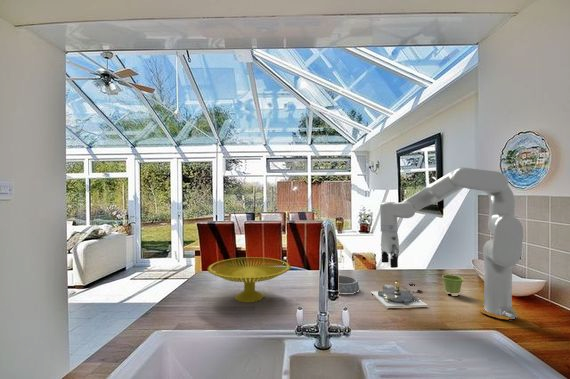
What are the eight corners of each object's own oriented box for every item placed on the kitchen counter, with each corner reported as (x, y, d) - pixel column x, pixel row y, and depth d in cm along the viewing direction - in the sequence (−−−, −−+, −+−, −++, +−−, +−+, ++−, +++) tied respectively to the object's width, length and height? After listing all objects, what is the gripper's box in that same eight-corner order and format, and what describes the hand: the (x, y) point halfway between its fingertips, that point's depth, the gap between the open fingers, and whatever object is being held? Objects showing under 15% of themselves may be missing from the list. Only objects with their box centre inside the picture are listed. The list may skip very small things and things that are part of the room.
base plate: (427, 307, 134) (427, 305, 134) (386, 308, 132) (386, 306, 132) (407, 293, 153) (407, 290, 153) (370, 293, 151) (370, 291, 151)
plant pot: (457, 291, 155) (458, 275, 155) (467, 298, 146) (467, 280, 146) (438, 291, 156) (438, 274, 156) (446, 297, 147) (446, 279, 147)
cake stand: (234, 322, 118) (234, 284, 118) (192, 294, 149) (193, 264, 149) (308, 299, 144) (308, 267, 144) (260, 279, 175) (260, 253, 175)
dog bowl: (339, 282, 172) (339, 272, 172) (366, 290, 157) (366, 280, 157) (318, 288, 161) (318, 277, 161) (344, 297, 147) (344, 286, 147)
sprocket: (416, 293, 148) (416, 282, 148) (419, 306, 132) (419, 293, 132) (378, 289, 154) (378, 278, 154) (377, 300, 138) (377, 288, 138)
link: (394, 295, 140) (394, 287, 140) (386, 296, 139) (386, 287, 139) (390, 292, 144) (391, 284, 144) (382, 293, 143) (382, 284, 143)
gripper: (405, 230, 133) (406, 269, 133) (388, 226, 150) (389, 260, 150) (389, 231, 132) (389, 269, 132) (374, 226, 150) (374, 260, 150)
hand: (389, 264), depth 141 cm, fingers open, 9 cm apart
